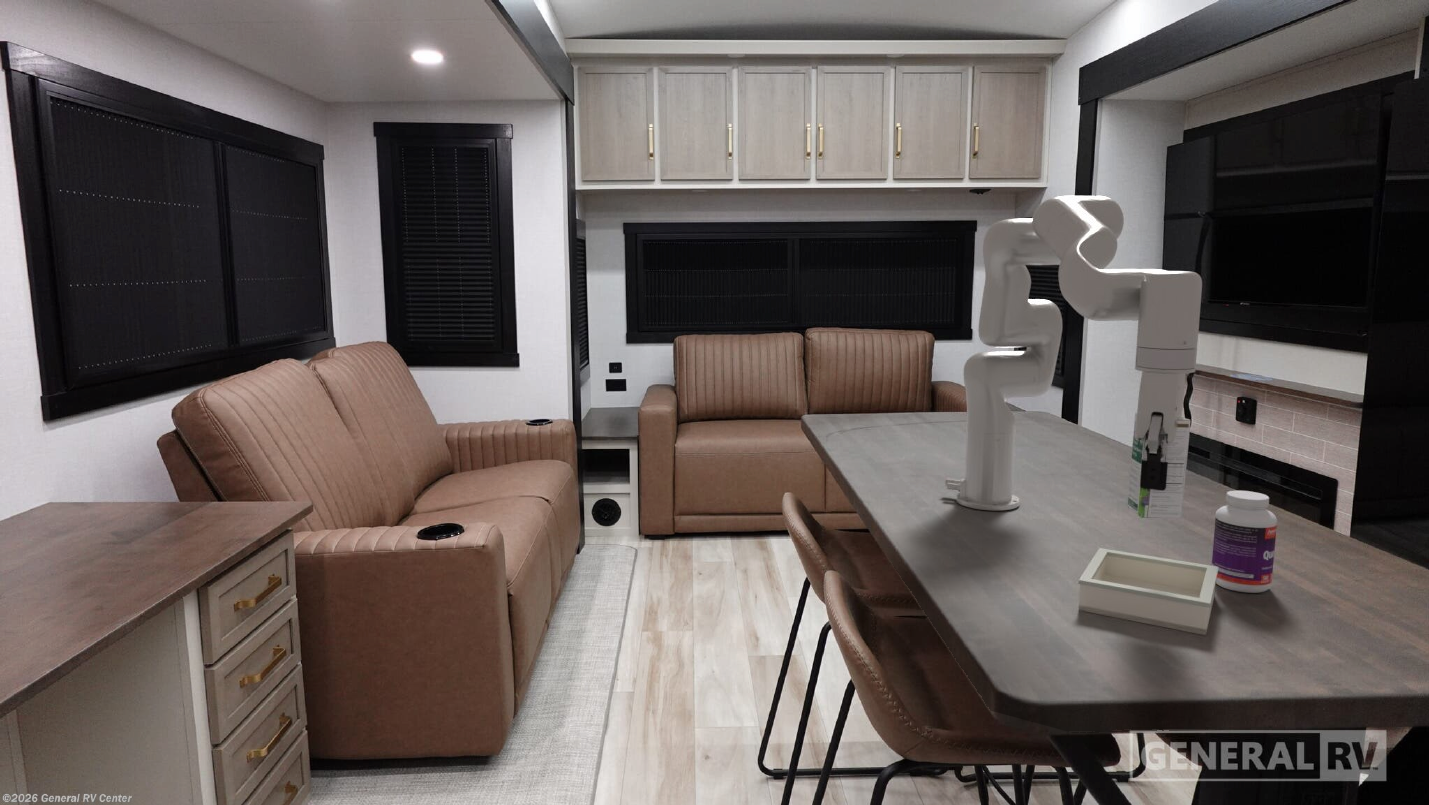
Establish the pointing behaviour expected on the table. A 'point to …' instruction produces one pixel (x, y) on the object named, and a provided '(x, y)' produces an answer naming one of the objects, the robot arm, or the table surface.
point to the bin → (1149, 590)
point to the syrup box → (1171, 498)
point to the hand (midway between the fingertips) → (1156, 481)
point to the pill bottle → (1244, 542)
